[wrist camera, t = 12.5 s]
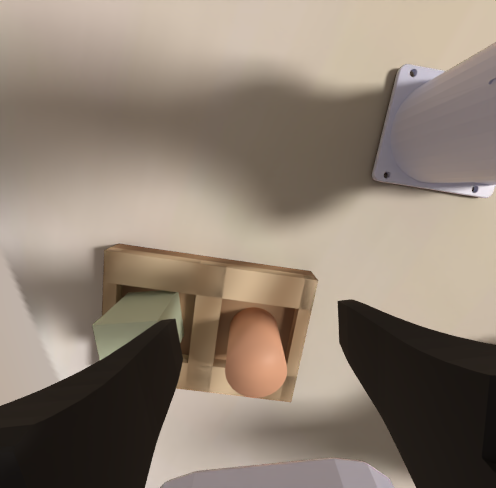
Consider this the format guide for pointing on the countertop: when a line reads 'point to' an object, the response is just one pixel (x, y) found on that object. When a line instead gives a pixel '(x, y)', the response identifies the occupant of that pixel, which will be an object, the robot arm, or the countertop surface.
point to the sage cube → (135, 318)
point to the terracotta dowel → (255, 354)
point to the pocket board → (215, 306)
